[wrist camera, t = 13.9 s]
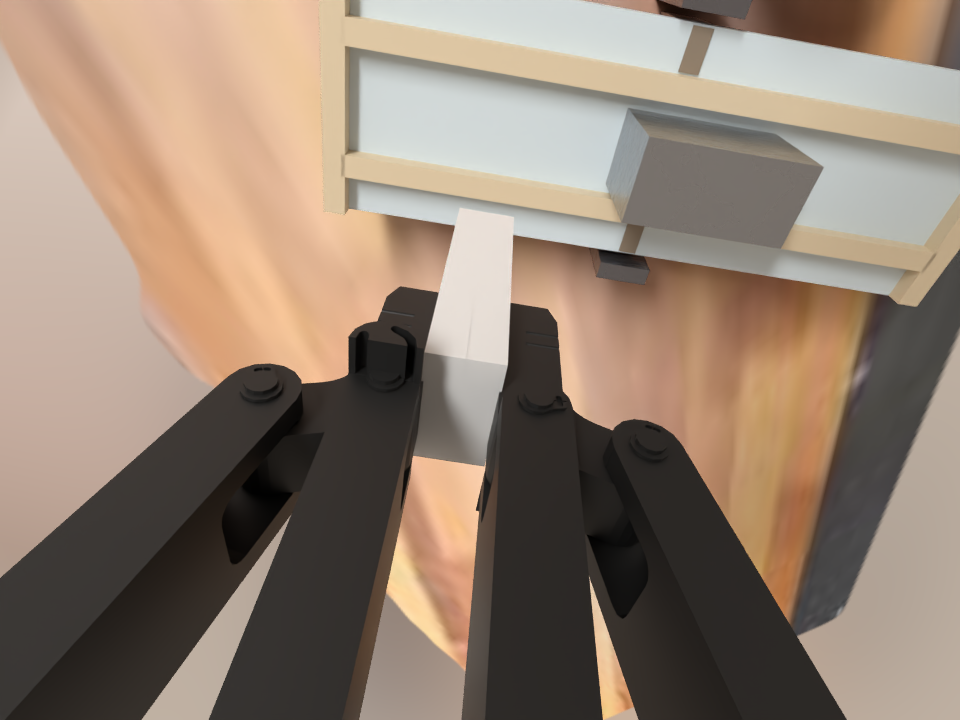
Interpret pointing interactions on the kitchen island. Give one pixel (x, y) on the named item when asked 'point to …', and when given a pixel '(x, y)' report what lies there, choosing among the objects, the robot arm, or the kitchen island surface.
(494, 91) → the beam
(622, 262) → the fulcrum
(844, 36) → the kitchen island surface
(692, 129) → the block
